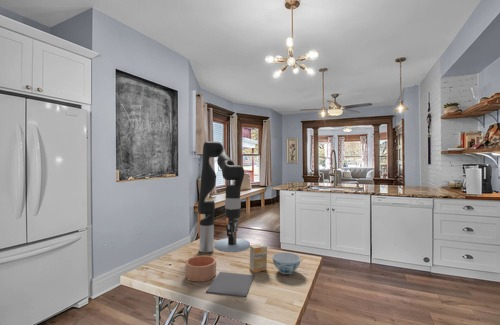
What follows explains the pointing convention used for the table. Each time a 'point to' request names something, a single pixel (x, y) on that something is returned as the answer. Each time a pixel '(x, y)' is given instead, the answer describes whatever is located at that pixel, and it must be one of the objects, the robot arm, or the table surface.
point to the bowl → (200, 268)
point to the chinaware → (286, 262)
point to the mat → (231, 284)
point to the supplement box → (258, 258)
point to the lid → (236, 247)
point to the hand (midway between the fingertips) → (232, 242)
